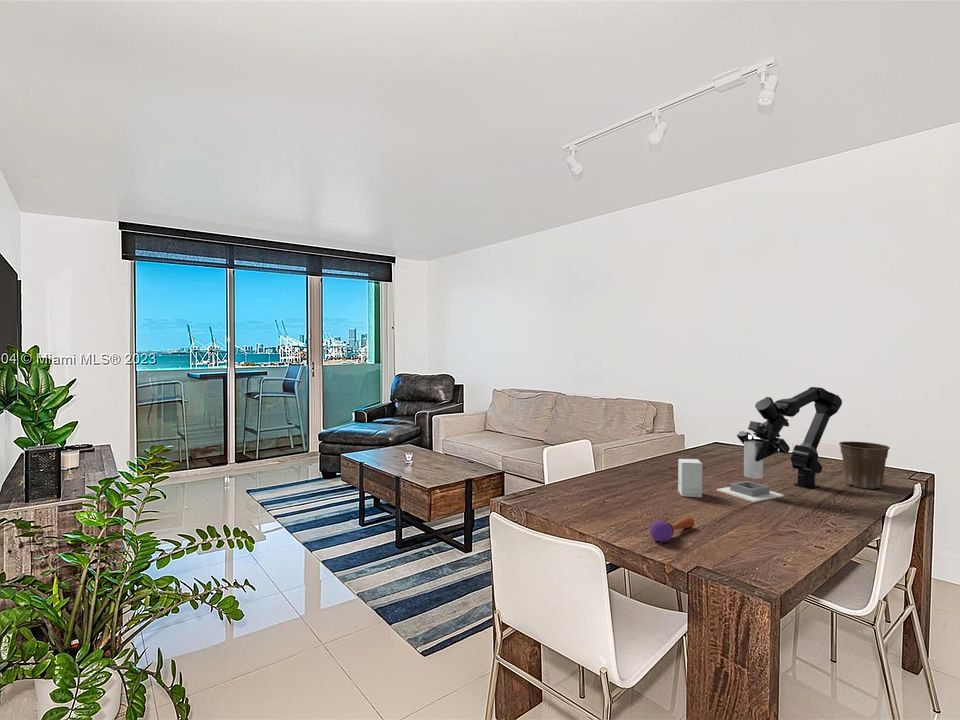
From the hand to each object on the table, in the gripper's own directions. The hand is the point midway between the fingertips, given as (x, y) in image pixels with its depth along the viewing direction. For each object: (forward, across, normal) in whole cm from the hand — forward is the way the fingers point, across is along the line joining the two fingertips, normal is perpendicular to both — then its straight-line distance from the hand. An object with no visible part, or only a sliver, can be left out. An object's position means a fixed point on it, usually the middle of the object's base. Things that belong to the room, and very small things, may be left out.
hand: (750, 459), depth 194 cm
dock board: (+9, -2, +11) cm, 14 cm away
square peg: (+4, 0, +6) cm, 7 cm away
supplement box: (+24, -10, -4) cm, 26 cm away
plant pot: (-27, +8, +47) cm, 54 cm away
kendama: (+48, +20, -30) cm, 60 cm away
